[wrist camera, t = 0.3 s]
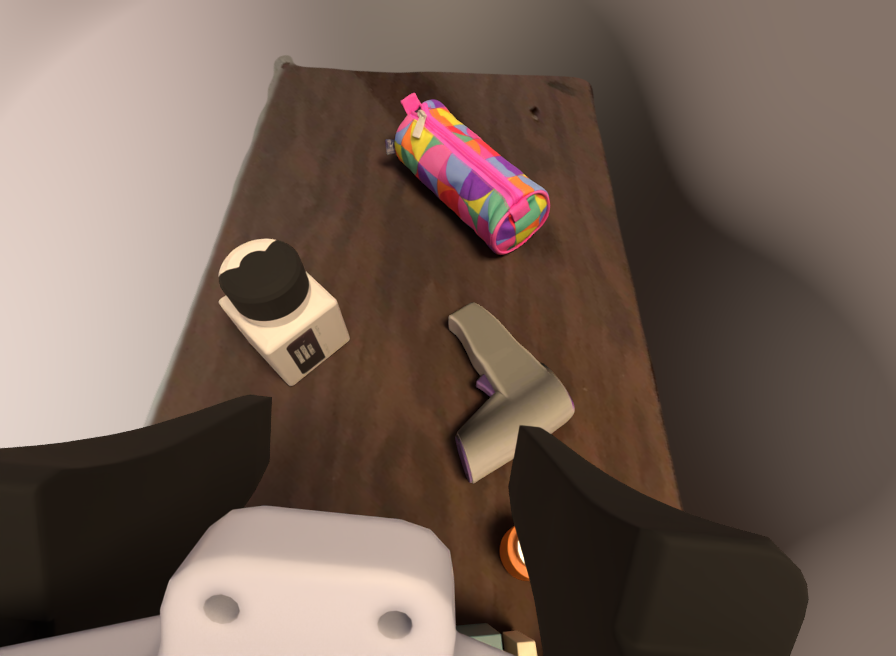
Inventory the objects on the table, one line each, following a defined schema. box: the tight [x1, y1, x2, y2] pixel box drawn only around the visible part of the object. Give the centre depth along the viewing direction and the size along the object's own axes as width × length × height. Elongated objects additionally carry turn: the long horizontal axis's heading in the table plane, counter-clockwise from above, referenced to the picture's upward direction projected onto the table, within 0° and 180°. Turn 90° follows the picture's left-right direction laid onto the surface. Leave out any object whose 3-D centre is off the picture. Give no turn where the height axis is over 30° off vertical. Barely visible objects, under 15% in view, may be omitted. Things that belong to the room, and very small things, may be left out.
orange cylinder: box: [500, 526, 530, 581], centre depth 35 cm, size 4×4×6 cm
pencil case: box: [386, 93, 550, 255], centre depth 54 cm, size 22×9×9 cm, turn 39°
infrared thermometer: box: [449, 302, 574, 483], centre depth 43 cm, size 5×12×15 cm
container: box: [219, 239, 350, 386], centre depth 42 cm, size 8×8×13 cm
